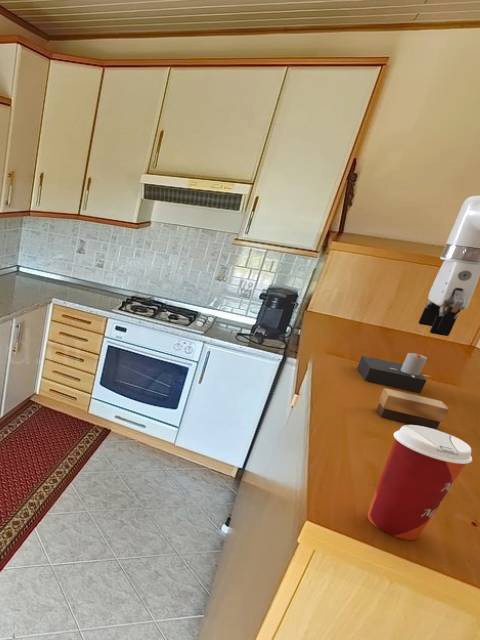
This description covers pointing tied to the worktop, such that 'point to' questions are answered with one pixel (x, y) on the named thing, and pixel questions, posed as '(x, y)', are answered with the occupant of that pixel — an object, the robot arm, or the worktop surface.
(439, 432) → the paper cup
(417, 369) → the stove knob
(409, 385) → the stove
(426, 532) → the worktop surface
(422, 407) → the brush
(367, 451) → the worktop surface
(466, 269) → the robot arm
